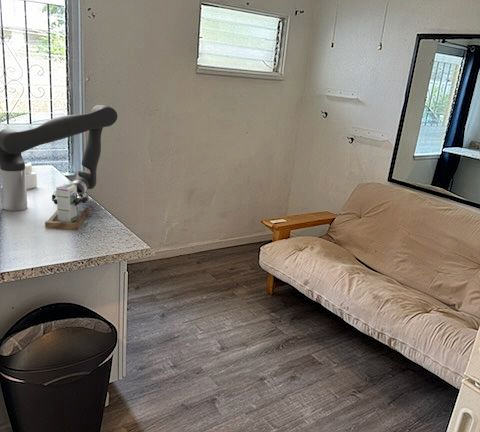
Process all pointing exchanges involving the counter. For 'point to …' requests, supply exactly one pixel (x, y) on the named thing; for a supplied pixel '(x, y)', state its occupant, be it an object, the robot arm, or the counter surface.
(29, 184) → the medicine bottle
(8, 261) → the counter surface
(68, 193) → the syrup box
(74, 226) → the open wooden frame
